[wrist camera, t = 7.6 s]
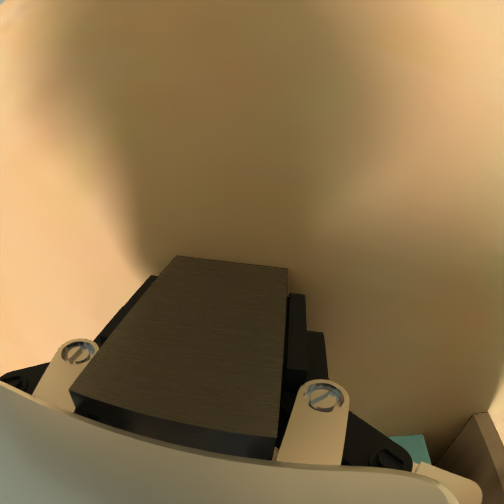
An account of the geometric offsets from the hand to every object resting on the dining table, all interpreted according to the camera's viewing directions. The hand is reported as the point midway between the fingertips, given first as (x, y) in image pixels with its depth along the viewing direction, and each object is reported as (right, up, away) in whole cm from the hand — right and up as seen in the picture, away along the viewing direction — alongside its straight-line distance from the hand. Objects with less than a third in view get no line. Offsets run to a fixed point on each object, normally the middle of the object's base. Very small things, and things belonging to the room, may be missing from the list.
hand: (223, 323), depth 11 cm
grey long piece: (+1, -6, +3) cm, 6 cm away
